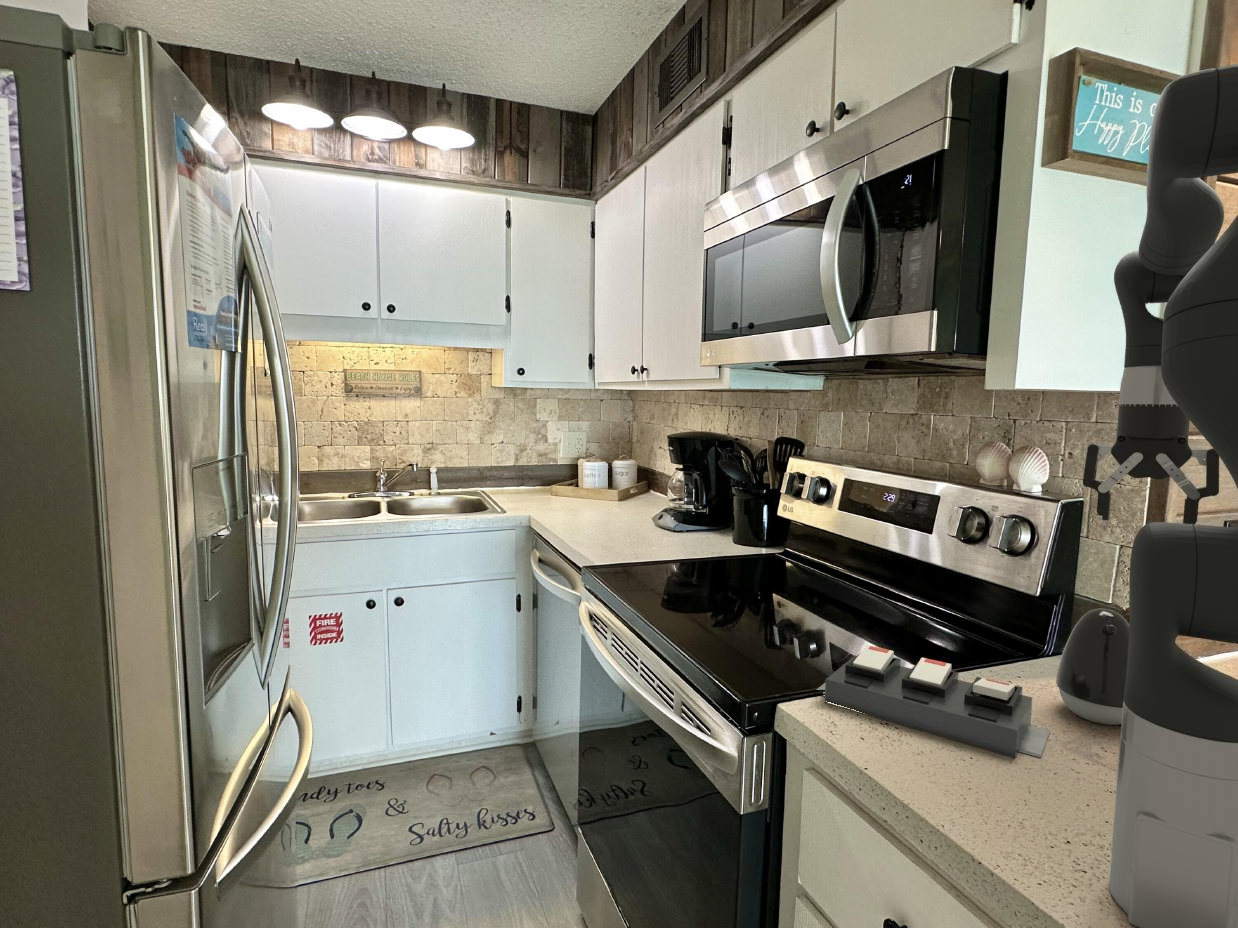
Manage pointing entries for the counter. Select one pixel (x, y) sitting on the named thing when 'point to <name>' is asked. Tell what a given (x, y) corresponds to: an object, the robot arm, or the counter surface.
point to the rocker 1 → (874, 658)
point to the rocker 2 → (994, 688)
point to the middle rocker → (931, 672)
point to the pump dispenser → (1095, 667)
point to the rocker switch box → (939, 707)
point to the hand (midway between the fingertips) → (1144, 523)
